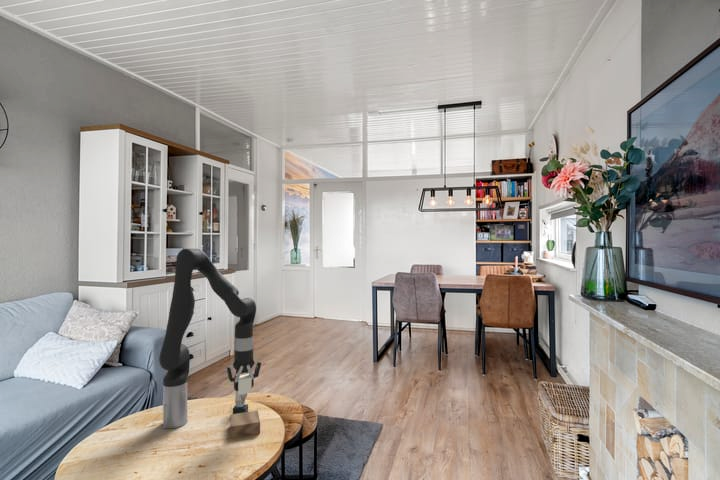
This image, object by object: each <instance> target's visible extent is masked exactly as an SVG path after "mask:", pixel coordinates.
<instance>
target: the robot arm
mask: <svg viewBox="0 0 720 480" xmlns="http://www.w3.org/2000/svg"><path fill="white" fill-rule="evenodd" d="M193 271H197V272H200V274H202V275H203V276H204V277H205V278H206V279H207V281H208V283H209V285H210V287H211V289H212V291H213V292H214V293H215V294H216V295H217V296H218V297H219V298H220V299H221V300H222V301H223V302H224V304H225V305H226V307H227V308H228V310H229V312H230V313H231V314H232V315H233V316H235V317H237V318H239V321H238V322H236V324H234V325H235V327H234V342H233V343H234V344H233V348H234V349H233V353H234V354H233V363H232V364H231V365H226V367H225V369H226V374H227V377H228V380H229V382H231V383H233V389H234V391H235V392H237V391H238V379H239V377H240V375H243V374H244V373H245V374H249V375H250V377H251V378H252V388H253V387H254V386H255V384H254V379H256V378H258V377H259V374H260V371H261V366H262V362H261V361H259V360H257V361H255V360H254V347H255V346H254V334H253V333H254V322H255V318H256V314H257V305H256V302H255V300H254V299H253V298H252V297H251V298H250V297H245V298H240V297H239V294H240V292H239V289H238V288H237V287H236V286H234V284H232V282H230V281H229V280H228V279H227V278H226V277H225V276H224V275H223V274H222V273H221V272H220V271H219V269H218V268H217V266H216V265H215V264H214V262H212V260H211V259H210V257H209V256H208V255H207V254H206V253H205V252H204V250H202V249H200V248H183V249H181V250H179V252H178V254H177V255H176V259H175V270H174V283H173V290H172V297H171V301H170V306H169V312H168V320H167V323H166V330H165V335H164V338H163V339H164V340H163V343H162V346H161V350H160V352H159V353H160V354H159V365H160V366H161V368H162V369H163V370H165V371H166V374H165V375H164V377H163V381H162V388H163V389H162V393H163V394H162V397H163V398H162V426H163V430H166V429H175V428H179V427H181V426H184V425H186V424H187V423H188V376H189V374H190V361H191V359H190V358H191V356H190V354H191V353H190V349H189V348H188V347H187V345H186V344H184V343H183V338H184V336H185V333H186V332H187V329H188V327H189V326H190V323H191V321H192V318H193V315H194V310H195V304H196V301H195V300H196V299H195V295H194V292H193V291H194V290H193V288H192V285H191V283H192V275H193ZM253 366H254V371H252V368H253ZM233 369H234V370H235V372H234V376H233V373H232V372H233ZM253 372H254V373H253Z"/></svg>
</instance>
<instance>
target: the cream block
mask: <svg viewBox="0 0 720 480" xmlns="http://www.w3.org/2000/svg"><path fill="white" fill-rule="evenodd" d="M252 390H253V387H252V378H251V377H250V375H249V374H248V373H245V374H240V377H239V379H238V391H236V392H237V393H238V394H239V395H241V394H246V393H248V394H250V393H252Z"/></svg>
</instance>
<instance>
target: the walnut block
mask: <svg viewBox="0 0 720 480" xmlns="http://www.w3.org/2000/svg"><path fill="white" fill-rule="evenodd" d="M258 434H259V435H260V434H261V421H260V416H259V412H258V410H251V411H248V412H244V413H238V414H233V413H232V414H230V438H231V439H237V438H244V437H248V436H253V435H258Z"/></svg>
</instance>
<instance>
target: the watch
mask: <svg viewBox="0 0 720 480" xmlns="http://www.w3.org/2000/svg"><path fill="white" fill-rule="evenodd" d="M248 394H249V393H246V394H241V395H239V394H238V393H237V391H235V399H234V400H235V401H234V403H235V405H234V406H233V407H232V414H238V413H244V412H249V404H248V403H247V404H245V403H246V399H247V396H248Z"/></svg>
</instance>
